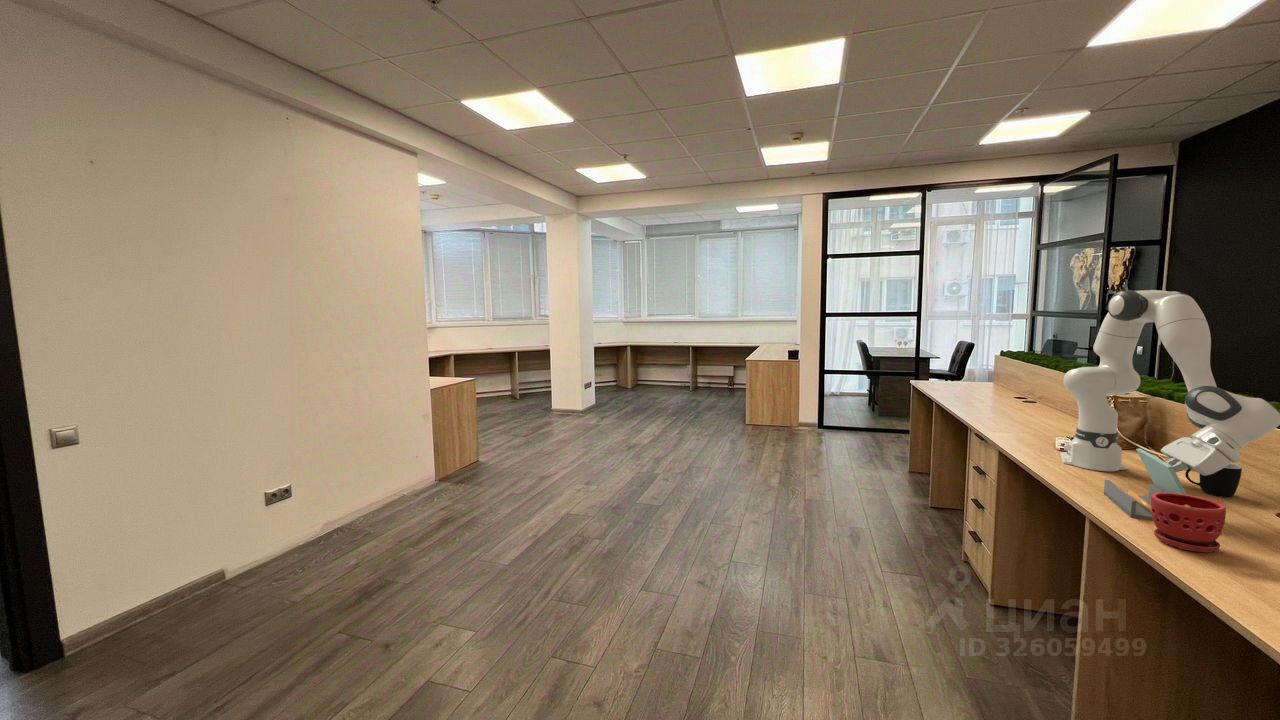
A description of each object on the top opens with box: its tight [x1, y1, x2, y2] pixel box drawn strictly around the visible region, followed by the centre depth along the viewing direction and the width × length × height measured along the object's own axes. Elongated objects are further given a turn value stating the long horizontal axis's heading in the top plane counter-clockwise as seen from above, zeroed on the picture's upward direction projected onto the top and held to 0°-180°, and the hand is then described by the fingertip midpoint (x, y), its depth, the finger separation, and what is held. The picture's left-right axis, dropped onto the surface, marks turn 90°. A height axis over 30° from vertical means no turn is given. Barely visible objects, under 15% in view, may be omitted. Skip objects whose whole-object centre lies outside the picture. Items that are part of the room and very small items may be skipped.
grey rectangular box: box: [1103, 479, 1186, 521], centre depth 153 cm, size 20×12×5 cm, turn 154°
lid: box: [1135, 448, 1190, 507], centre depth 150 cm, size 20×12×1 cm
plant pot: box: [1151, 492, 1227, 553], centre depth 129 cm, size 13×13×12 cm
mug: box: [1184, 462, 1243, 498], centre depth 164 cm, size 12×9×10 cm
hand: (1164, 471), depth 150 cm, fingers closed, pressing on lid
